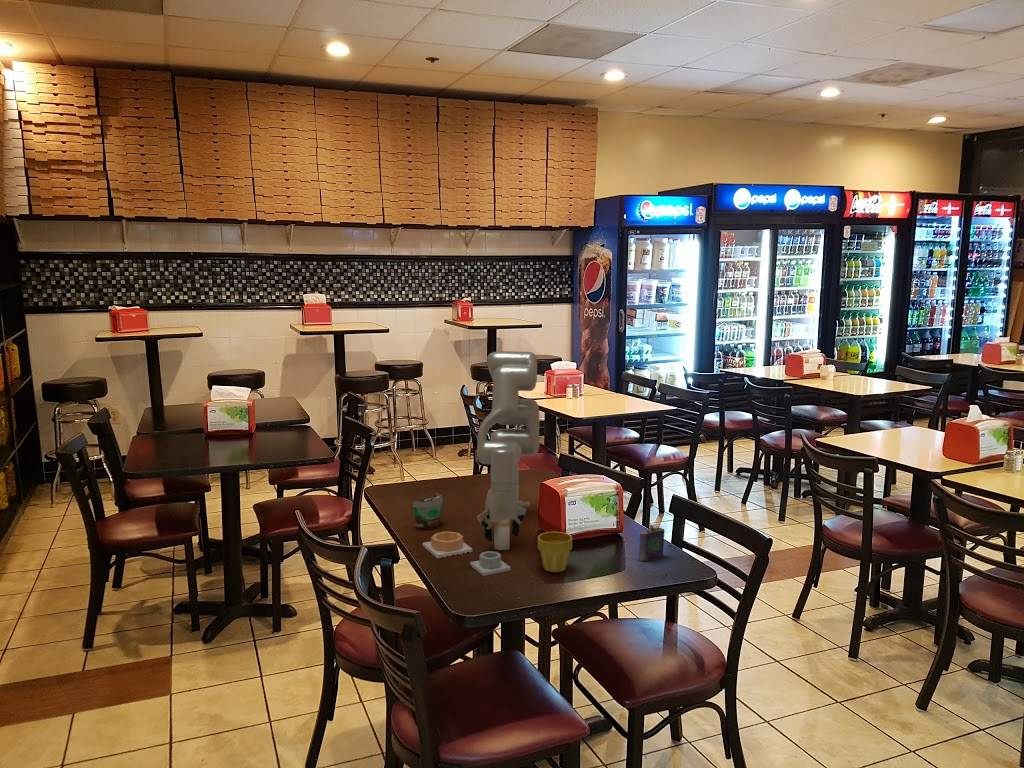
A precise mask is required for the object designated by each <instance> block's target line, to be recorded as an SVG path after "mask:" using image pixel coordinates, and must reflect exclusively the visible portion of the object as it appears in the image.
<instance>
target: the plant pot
mask: <svg viewBox="0 0 1024 768" xmlns="http://www.w3.org/2000/svg"><path fill="white" fill-rule="evenodd" d="M537 548H538V550H539V551H540V552H539V553H540V557H541V560H542V561H541V562H542V565H543V569H544V570H545V571H547V572H551V573H561V572H564V571H565V570H566V569H567V565H568V560H569V556H570V551H571V550H572V549H573V536H572V535H570V534H569V533H567V532H561V531H546V532H543V533H542V532H541V533H540V534H539V535H538V536H537Z"/></svg>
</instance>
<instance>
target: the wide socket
mask: <svg viewBox="0 0 1024 768" xmlns="http://www.w3.org/2000/svg"><path fill="white" fill-rule="evenodd" d="M422 547H423V548H425V549H426V551H428V552H429V553H431V554H432V555H433V556H434V557H435V558H436V559H437V558H438V559H441V558H442V557H443V558H447V556H448V557H452V555H454V556H458V555H457V554H459V555H464V554H468V553H467V552H469V553H473V548H472V547H470V546H469V545H468V544H467V543H465V542H464V535H462V534H461V533H459V532H456V531H448V530H446V531H441V532H435V533H434V534H433V535H432V536H431V537H430V541H425V542H422ZM463 553H464V554H463Z"/></svg>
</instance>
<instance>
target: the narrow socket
mask: <svg viewBox="0 0 1024 768" xmlns="http://www.w3.org/2000/svg"><path fill="white" fill-rule="evenodd" d="M478 557H479V560H475V561H469V566H470V565H471V566H472V568H473V569H474V570H475V571H476V572H477V573H479V574H480V575H481V576H483V577H485V576H490V575H491V576H492V575H495V574H499V573H505V572H510V571H511V569H512V568H511V566H509V565H508V563H506V562H504V561H502V554H501V553H499V552H498V551H491V550H489V551H483V552H481V553H480V554H479V556H478ZM471 566H470V567H471Z"/></svg>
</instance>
